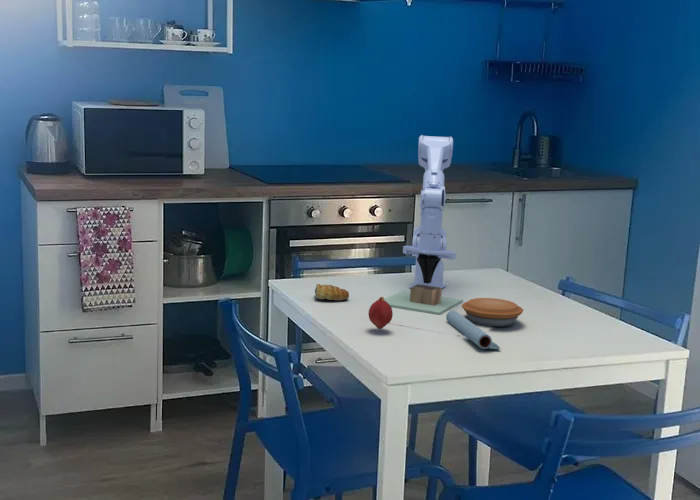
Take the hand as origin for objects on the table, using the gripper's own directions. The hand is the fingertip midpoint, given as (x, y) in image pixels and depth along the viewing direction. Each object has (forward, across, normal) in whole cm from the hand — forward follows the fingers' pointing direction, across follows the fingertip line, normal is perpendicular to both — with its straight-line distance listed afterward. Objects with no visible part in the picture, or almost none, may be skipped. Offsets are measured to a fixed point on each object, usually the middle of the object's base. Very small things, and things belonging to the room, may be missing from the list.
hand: (427, 282), depth 239 cm
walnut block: (+3, -4, 0) cm, 5 cm away
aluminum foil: (+7, +21, -21) cm, 30 cm away
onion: (+6, 0, -31) cm, 32 cm away
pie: (+6, +20, -6) cm, 22 cm away
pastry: (+7, -20, -13) cm, 25 cm away
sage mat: (+6, -2, 0) cm, 6 cm away
